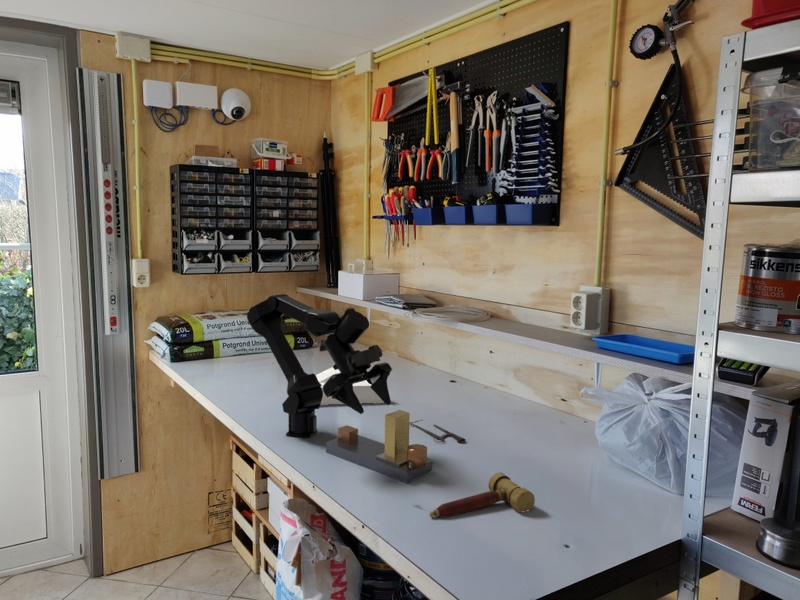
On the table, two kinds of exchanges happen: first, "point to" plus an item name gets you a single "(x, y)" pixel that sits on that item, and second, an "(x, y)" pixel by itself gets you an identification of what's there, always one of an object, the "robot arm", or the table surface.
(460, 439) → the bar clamp
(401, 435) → the brushed brass block
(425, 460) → the plane body
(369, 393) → the triangle block
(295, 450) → the table surface
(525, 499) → the gavel
